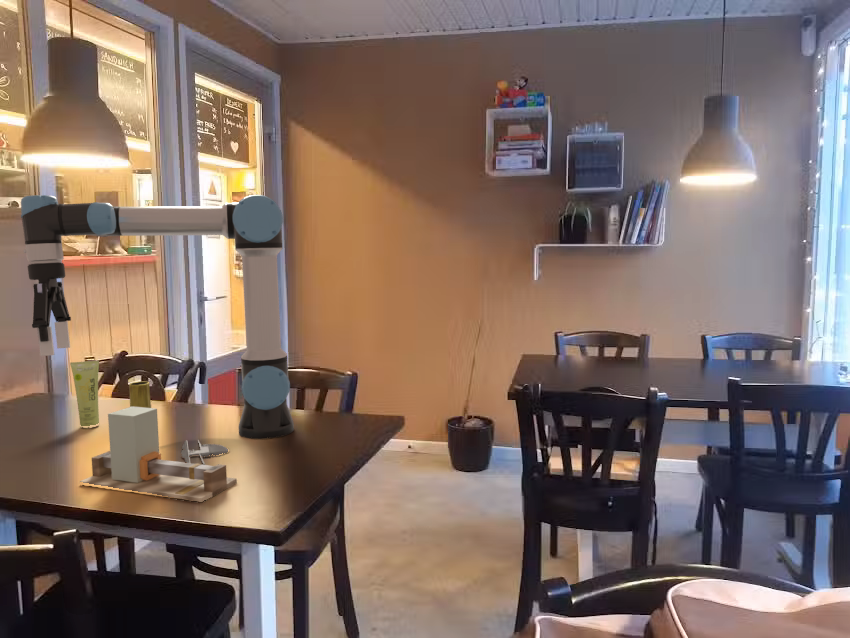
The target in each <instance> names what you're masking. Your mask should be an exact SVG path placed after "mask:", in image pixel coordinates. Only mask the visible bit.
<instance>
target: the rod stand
mask: <svg viewBox="0 0 850 638" xmlns="http://www.w3.org/2000/svg"><path fill="white" fill-rule="evenodd" d="M147 465H148V473H152V474H160V475H158V476H156V477H154V478H151V479H149V480H142V481H140V482H138V483H136V482H128V481H121V480H114V479H112V471H111V455H110V450H108V451H106V452H103V453H101V454H98V455H96V456H92V457H91V471H92V475H91V476H89V477H87V478H84V479H82V480H79V483H80V482H83V483H89V484H94V485H101V486H108V487H113V488H119V489H124V490H132V491H138V492H147V493H152V494H157V495H162V496H168V497H174V498H182V499H188V500H193V501H199V502H202V501H204V500H206V499H208V498H210V497H211V498H213V497H215V496H216V494H217V495H218V494H220V493H221V492H224V491H225V490H226V489H228V488H231V487H232V486H234V485H236V484H237V483H238V482H237V481H238V480H237V478H234V477H227V475H228V474H227V465H226V464H220V463H219V464H216V465H210V464H209V465H208V464H205V465H203V464H202V463H191V462H190V463H185V462H184V461H175V460H166V459H161V460H160V459H151V460H149V461H147ZM214 495H215V496H214ZM212 496H213V497H212ZM211 498H210V499H211ZM208 500H209V499H208ZM206 501H207V500H206ZM204 502H205V501H204Z"/></svg>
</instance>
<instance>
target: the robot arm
mask: <svg viewBox="0 0 850 638" xmlns="http://www.w3.org/2000/svg"><path fill="white" fill-rule="evenodd" d="M20 209H21V211H20V212H21V215H20V218H21V221H22V223H21V224H22V229H23V236H24V237H23V238H24V244H25V248H24V249H23V254H25V255H26V260H27V262H28V263H29V262H30V263H29V264H27V272H28V273H27V274H28V279H29V280H30V281H37V280H38V283H33V285H32V287H33V311H32V312H33V313H32V314H33V315H32V316H33V317H32V324H31V327H32V329H36V330H37V331H36V332H37V337H38V347H39V356H40V357H46V356H48V357H49V356H54V355H55V347H54V341H53V331H52V326H50V322H51V316H52V315H53V318H54V320H55V322H54V331H55V338H56V339H55V340H56V347H57V348H56V349H67V348H68V349H69V348H71V342H70V332H69V324H68V322H69V321H70V322H71V321H72V317H71V316H70V313H69V312H70V311H69V310H68V306H67V302H66V298H65V293H64V290H63V282H62V281H58V279H65V278H66V270H65V264H64V262H62V261H63V260H65V257H64V251H63V249H64V248H63V242H62V237H70V236H71V237H72V236H95V237H99V238H101V237H102V238H104V237H106V238H107V237H122V236H123V237H125V236H126V237H128V236H129V237H131V236H132V237H133V236H135V237H137V236H146V237H147V236H148V237H149V236H153V237H154V236H223V237H225V238H226V239H227V240H234V244H235V245H234V247H235V252H237V253H238V254H239V255H240V256H241V261H242V262H241V263H242V264H241V265H242V282H243V283H242V284H243V299H244V300H243V302H244V304H243V305H244V322H245V323H244V324H245V339H246V340H245V341H246V350H245V352H243V354H241V357H240V361H241V363H240V364H241V366H240V367H241V382H242V383H241V393H242V396H243V404H244V405H243V409H242V413H241V417H240V420H239V423H238V434H239V436H240V437H243V438H246V439H251V440H252V439H254V440H255V439H256V440H263V439H264V440H265V439H274V438H280V437H283V436H287V435H290V434H291V433H293V432H294V430H295V429H294V428H295V427H294V419H293V416H292V413H291V411H290V409H289V406H288V402H287V397H288V396H289V393H290V390H291V383H290V379H289V365H288V353H287V352H286V351H284V349H283V348H282V345H281V340H282V339H281V321H280V320H281V318H280V316H281V315H280V302H279V301H280V299H279V297H280V295H279V277H278V258H277V257H278V254H279V253H280V252H281V251H282V250H283V231H282V229H283V228H282V225H283V223H284V221H283V220H284V219H283V218H284V217H283V213H282V210H281V208H280V207H279V205H278V204H277V202H276V201H275V200H273V199H272V198H270V197H269V196H266V195H263V194H250V195H247V196H244V197H242V198H241V199H240V200H239V201H238V202H225V203H224V204H223V205H222V206H113V205H112V204H111V203H109V202H97V201H95V202H84V203H83V202H82V203H59V202H58V199H57V197H56V196H54V195H50V194H49V195H47V194H46V195H44V194H43V195H41V194H40V195H39V194H38V195H37V194H36V195H32V194H31V195H26V196H23V197H22V198H21V200H20ZM51 313H52V314H51Z"/></svg>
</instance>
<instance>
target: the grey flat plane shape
mask: <svg viewBox="0 0 850 638" xmlns="http://www.w3.org/2000/svg"><path fill="white" fill-rule="evenodd" d="M198 443H199V445H198V447H200V448H199V450H195V449H189V444H188V440H184V441H183V444H182V447H181V450H180V457H181V456H182V457H183V458H185V459H184V461H185V462H187V463H191V457H189V456H192V455H199V456H200V458H201V460H200V462H201V461H202V462H201V464H202V463H203V464H202V465H206V463H205V461H204V458H205V457H207V456H209V455H210V456H209V457H211V458H212V456H213V455H215V456H213V457H217V456H216V455H219V454H222V453H223V454H224V453H227V452H228V449H229V448H228V447H227V446H225V447H224V445H222V444H215V443H206V444H205V443H204V444H201V442H200V440H199V439H197V444H198ZM226 447H227V448H228V449H227V448H226ZM182 449H183V450H182ZM184 449H185V450H184ZM181 454H182V455H181ZM212 454H213V455H212ZM211 455H212V456H211ZM199 456H198V457H199ZM201 456H202V457H204V456H205V457H204V458H202V457H201ZM200 458H199V459H200ZM185 462H184V463H185Z"/></svg>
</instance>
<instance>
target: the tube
mask: <svg viewBox="0 0 850 638" xmlns="http://www.w3.org/2000/svg"><path fill="white" fill-rule="evenodd" d="M69 364H70V369H71V372H72V376H73V377H72V378H73V382H74V388H75V395H76V402H77V403H76V404H77V409H78V418H79V425H81V426H90V425H96V424H98V423H99V424H100V413H99V412H100V411H99V367H100V359H99V360H88V361H75V362H73V361H72V362H69Z"/></svg>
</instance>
